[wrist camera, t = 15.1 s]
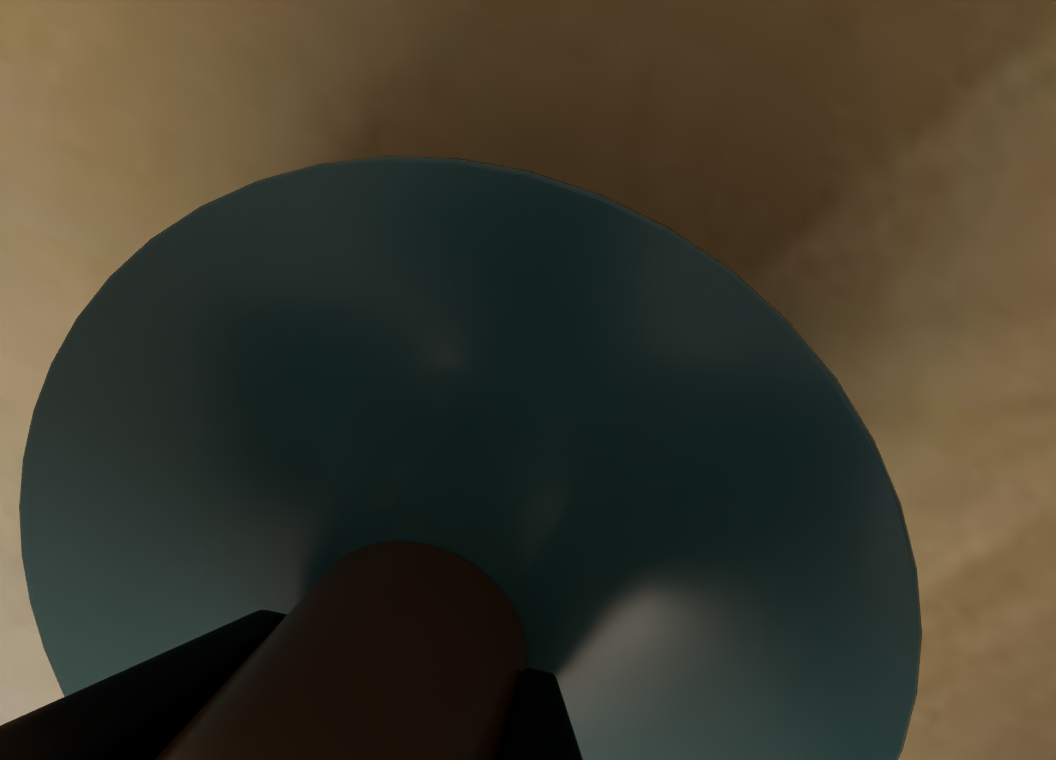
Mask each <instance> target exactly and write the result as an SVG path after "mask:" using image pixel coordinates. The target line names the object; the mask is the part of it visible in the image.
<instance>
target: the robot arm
mask: <svg viewBox="0 0 1056 760" xmlns="http://www.w3.org/2000/svg"><path fill="white" fill-rule="evenodd" d="M286 615H287V614H284V613H279V612H275V611H270V610H258V611H256V612H253V613H251V614H249V615H247V616H244V617H242V618H240V619H238V620H235V621H233V622H231V623H229V624H226V625H224V626H222V627H220V628H218V629H215V630H213V631H211V632H209V633H206V634H204V635H202V636H200V637H197V638H195V639H193V640H191V641H189V642H186V643H184V644H182V645H180V646H177V647H175V648H173V649H171V650H168V651H166V652H164V653H162V654H160V655H157V656H155V657H153V658H151V659H148V660H146V661H144V662H142V663H139V664H137V665H135V666H133V667H130V668H128V669H126V670H124V671H122V672H119V673H117V674H115V675H113V676H110V677H108V678H106V679H104V680H101V681H99V682H97V683H95V684H93V685H90V686H88V687H86V688H84V689H81V690H79V691H77V692H75V693H72V694H70V695H68V696H66V697H64V698H61V699H59V700H57V701H55V702H52V703H50V704H48V705H46V706H43V707H41V708H39V709H37V710H34V711H32V712H30V713H28V714H26V715H23V716H21V717H19V718H17V719H14V720H12V721H10V722H8V723H5V724H3V725H1V726H0V760H154V759H155V758H156V757H157V756H158V755H159V754H160V753H161V752H162V751H163V750H164V749H165V747H166V746H167V745H168V744H169V743H170V742H171V741H172V740H173V739H174V738H175V737H176V735H177V734H178V733H179V732H180V731H181V730H182V729H183V728H184V727H185V726H186V725H187V723H188V722H189V721H190V720H191V719H192V718H193V717H194V716H195V715H196V714H197V713H198V711H199V710H200V709H201V708H202V707H203V706H204V705H205V704H206V703H207V702H208V701H209V699H210V698H211V697H212V696H213V695H214V694H215V693H216V692H217V691H218V690H219V689H220V687H221V686H222V685H223V684H224V683H225V682H226V681H227V680H228V679H229V678H230V677H231V675H232V674H233V673H234V672H235V671H236V670H237V669H238V668H239V667H240V666H241V665H242V663H243V662H244V661H245V660H246V659H247V658H248V657H249V656H250V655H251V654H252V653H253V651H254V650H255V649H256V648H257V647H258V646H259V645H260V644H261V643H262V642H263V641H264V639H265V638H266V637H267V636H268V635H269V634H270V633H271V632H272V631H273V630H274V629H275V627H276V626H277V625H278V624H279V623H280V622H281V621H282V620H283V619H284V618H285V617H286ZM502 760H583V758H582V755H581V752H580V749H579V746H578V743H577V739H576V736H575V733H574V730H573V727H572V724H571V721H570V718H569V715H568V712H567V708H566V705H565V702H564V699H563V696H562V693H561V690H560V687H559V684H558V681H557V678H556V676H555V675H554V674H553V673H551V672H547V671H542V670H538V669H533V668H525V669H524V670H523V672H522V676H521V680H520V684H519V688H518V692H517V696H516V700H515V704H514V708H513V712H512V716H511V720H510V724H509V728H508V732H507V736H506V741H505V746H504V752H503V759H502Z"/></svg>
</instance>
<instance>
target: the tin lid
mask: <svg viewBox="0 0 1056 760" xmlns="http://www.w3.org/2000/svg"><path fill="white" fill-rule="evenodd" d="M19 512H20V530H21V548H22V559H23V565H24V571H25V576H26V582H27V587H28V593H29V598H30V604H31V607H32V610H33V614H34V617H35V620H36V624H37V627H38V630H39V634H40V637H41V640H42V644H43V647H44V650H45V652H46V655H47V657H48V659H49V662H50V664H51V667H52V669H53V671H54V674H55V676H56V678H57V681H58V683H59V685H60V688H61V690H62V692H63V695H64V696H65V697H66V696H68V695H70V694H72V693H75V692H77V691H79V690H81V689H84V688H86V687H88V686H90V685H93V684H95V683H97V682H99V681H101V680H104V679H106V678H108V677H110V676H113V675H115V674H117V673H119V672H122V671H124V670H126V669H128V668H130V667H133V666H135V665H137V664H139V663H142V662H144V661H146V660H148V659H151V658H153V657H155V656H157V655H160V654H162V653H164V652H166V651H168V650H171V649H173V648H175V647H177V646H180V645H182V644H184V643H186V642H189V641H191V640H193V639H195V638H197V637H200V636H202V635H204V634H206V633H209V632H211V631H213V630H215V629H218V628H220V627H222V626H224V625H226V624H229V623H231V622H233V621H235V620H238V619H240V618H242V617H244V616H247V615H249V614H251V613H253V612H256V611H258V610H270V611H275V612H279V613H284V614H287V615H286V617H285V618H284V619H283V620H282V621H281V622H280V623H279V624H278V625H277V626H276V627H275V629H274V630H273V631H272V632H271V633H270V634H269V635H268V636H267V637H266V638H265V639H264V641H263V642H262V643H261V644H260V645H259V646H258V647H257V648H256V649H255V650H254V651H253V653H252V654H251V655H250V656H249V657H248V658H247V659H246V660H245V661H244V662H243V663H242V665H241V666H240V667H239V668H238V669H237V670H236V671H235V672H234V673H233V674H232V675H231V677H230V678H229V679H228V680H227V681H226V682H225V683H224V684H223V685H222V686H221V687H220V689H219V690H218V691H217V692H216V693H215V694H214V695H213V696H212V697H211V698H210V699H209V701H208V702H207V703H206V704H205V705H204V706H203V707H202V708H201V709H200V710H199V711H198V713H197V714H196V715H195V716H194V717H193V718H192V719H191V720H190V721H189V722H188V723H187V725H186V726H185V727H184V728H183V729H182V730H181V731H180V732H179V733H178V734H177V735H176V737H175V738H174V739H173V740H172V741H171V742H170V743H169V744H168V745H167V746H166V747H165V749H164V750H163V751H162V752H161V753H160V754H159V755H158V756H157V757H156V758H155V759H154V760H502V759H503V752H504V746H505V741H506V736H507V732H508V728H509V724H510V720H511V716H512V712H513V708H514V704H515V700H516V696H517V692H518V688H519V684H520V680H521V676H522V672H523V670H524V669H525V668H533V669H538V670H542V671H547V672H551V673H553V674H554V675H555V676H556V678H557V681H558V684H559V687H560V690H561V693H562V696H563V699H564V702H565V705H566V708H567V712H568V715H569V718H570V721H571V724H572V727H573V730H574V733H575V736H576V739H577V743H578V746H579V749H580V752H581V755H582V758H583V760H898V759H899V756H900V754H901V752H902V750H903V746H904V742H905V738H906V734H907V730H908V726H909V722H910V719H911V715H912V711H913V707H914V703H915V699H916V695H917V686H918V675H919V663H920V651H921V640H922V628H921V615H920V603H919V590H918V578H917V568H916V563H915V559H914V555H913V551H912V547H911V543H910V539H909V535H908V531H907V527H906V523H905V519H904V515H903V511H902V507H901V503H900V501H899V498H898V496H897V494H896V491H895V489H894V486H893V484H892V482H891V479H890V477H889V474H888V472H887V470H886V467H885V465H884V463H883V460H882V458H881V455H880V453H879V451H878V448H877V446H876V444H875V441H874V439H873V437H872V436H871V434H870V433H869V431H868V429H867V428H866V426H865V424H864V423H863V421H862V419H861V418H860V416H859V415H858V413H857V411H856V410H855V408H854V406H853V405H852V403H851V401H850V400H849V398H848V397H847V395H846V393H845V392H844V390H843V388H842V387H841V385H840V384H839V382H838V380H837V379H836V377H835V376H834V375H833V374H832V373H831V371H830V370H829V369H828V368H827V367H826V365H825V364H824V363H823V362H822V361H821V359H820V358H819V357H818V356H817V355H816V353H815V352H814V351H813V350H812V349H811V347H810V346H809V345H808V344H807V343H806V341H805V340H804V339H803V338H802V337H801V335H800V334H799V333H798V332H797V331H796V329H795V328H794V327H793V326H792V325H791V323H790V322H789V321H788V320H787V319H786V318H785V317H783V316H782V315H781V314H780V313H779V312H778V311H777V310H776V309H775V308H773V307H772V306H771V305H770V304H769V303H768V302H767V301H766V300H765V299H763V298H762V297H761V296H760V295H759V294H758V293H757V292H756V291H755V290H753V289H752V288H751V287H750V286H749V285H748V284H747V283H746V282H745V281H743V280H742V279H741V278H740V277H739V276H738V275H737V274H736V273H735V272H733V271H732V270H731V269H729V268H728V267H726V266H725V265H723V264H722V263H720V262H719V261H717V260H716V259H714V258H713V257H712V256H710V255H709V254H707V253H706V252H704V251H703V250H701V249H700V248H698V247H697V246H695V245H694V244H692V243H691V242H689V241H688V240H686V239H685V238H683V237H682V236H680V235H679V234H677V233H676V232H674V231H673V230H671V229H670V228H668V227H666V226H664V225H662V224H660V223H658V222H656V221H654V220H652V219H650V218H648V217H646V216H644V215H642V214H640V213H638V212H636V211H634V210H632V209H629V208H627V207H625V206H623V205H621V204H619V203H617V202H615V201H613V200H611V199H609V198H607V197H605V196H603V195H601V194H598V193H595V192H592V191H589V190H586V189H583V188H580V187H577V186H574V185H570V184H567V183H564V182H561V181H558V180H555V179H552V178H549V177H546V176H543V175H540V174H537V173H534V172H531V171H526V170H521V169H515V168H509V167H504V166H498V165H492V164H487V163H481V162H475V161H470V160H464V159H458V158H434V157H401V156H382V157H374V158H365V159H357V160H348V161H340V162H331V163H322V164H317V165H313V166H310V167H306V168H302V169H299V170H295V171H291V172H288V173H284V174H281V175H277V176H273V177H270V178H266V179H262V180H259V181H256V182H254V183H251V184H249V185H247V186H245V187H243V188H240V189H238V190H236V191H234V192H232V193H229V194H227V195H225V196H223V197H220V198H218V199H216V200H214V201H212V202H209V203H207V204H205V205H203V206H201V207H199V208H198V209H196V210H194V211H193V212H191V213H190V214H188V215H187V216H185V217H184V218H182V219H181V220H179V221H178V222H176V223H175V224H173V225H172V226H170V227H169V228H167V229H166V230H164V231H163V232H161V233H160V234H158V235H156V236H155V237H153V238H152V239H150V240H149V241H148V242H147V243H146V244H145V245H144V246H143V247H142V248H141V249H140V250H138V251H137V252H136V253H135V254H134V255H133V256H132V257H131V258H130V259H129V260H128V261H126V262H125V263H124V264H123V265H122V266H121V267H120V268H119V269H118V270H117V271H116V272H114V273H113V274H112V275H111V276H110V277H109V278H108V280H107V281H106V282H105V283H104V285H103V286H102V287H101V289H100V290H99V291H98V292H97V294H96V295H95V296H94V297H93V299H92V300H91V301H90V302H89V304H88V305H87V306H86V307H85V309H84V310H83V311H82V313H81V314H80V315H79V316H78V318H77V319H76V321H75V322H74V324H73V326H72V328H71V330H70V331H69V333H68V335H67V337H66V338H65V340H64V342H63V344H62V346H61V347H60V349H59V351H58V353H57V354H56V356H55V358H54V360H53V362H52V363H51V366H50V368H49V371H48V374H47V376H46V379H45V382H44V384H43V387H42V390H41V392H40V395H39V398H38V400H37V403H36V406H35V408H34V411H33V416H32V420H31V425H30V429H29V434H28V439H27V443H26V448H25V452H24V457H23V466H22V479H21V492H20V505H19Z"/></svg>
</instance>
